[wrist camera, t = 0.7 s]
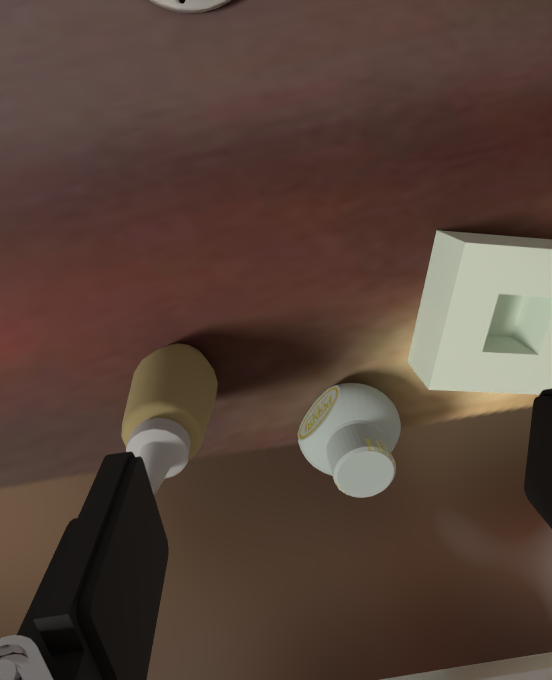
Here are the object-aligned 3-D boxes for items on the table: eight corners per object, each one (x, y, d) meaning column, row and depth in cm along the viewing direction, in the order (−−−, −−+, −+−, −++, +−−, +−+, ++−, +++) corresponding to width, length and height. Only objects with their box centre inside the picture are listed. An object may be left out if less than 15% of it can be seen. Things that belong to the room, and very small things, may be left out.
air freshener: (344, 360, 48) (369, 411, 39) (402, 397, 50) (438, 453, 41) (284, 433, 51) (294, 496, 42) (341, 464, 53) (362, 530, 44)
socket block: (436, 230, 43) (465, 242, 38) (572, 241, 45) (619, 254, 39) (407, 362, 49) (428, 389, 43) (529, 368, 50) (565, 395, 44)
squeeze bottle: (197, 320, 45) (172, 420, 28) (232, 384, 48) (228, 509, 32) (125, 351, 46) (60, 467, 29) (164, 413, 49) (126, 549, 32)
